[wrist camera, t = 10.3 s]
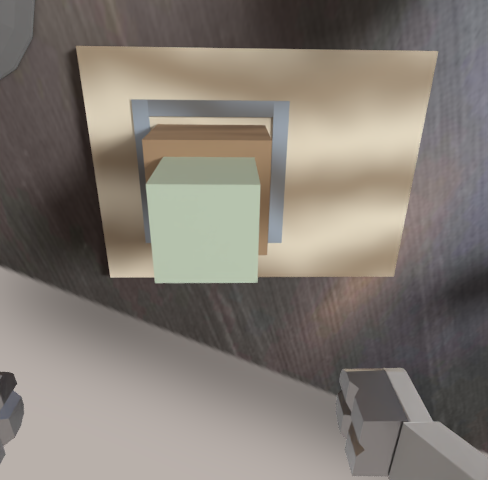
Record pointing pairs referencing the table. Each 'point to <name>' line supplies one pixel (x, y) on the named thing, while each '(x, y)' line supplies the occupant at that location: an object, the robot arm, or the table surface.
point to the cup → (14, 32)
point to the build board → (283, 144)
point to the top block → (204, 219)
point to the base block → (215, 154)
